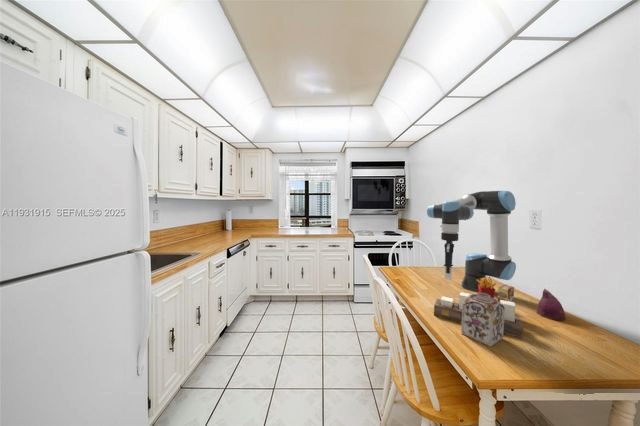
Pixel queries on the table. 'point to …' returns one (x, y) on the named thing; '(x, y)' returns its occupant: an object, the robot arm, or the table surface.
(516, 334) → the wooden candle holder
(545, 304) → the vegetable
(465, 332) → the decorative jar
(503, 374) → the table surface
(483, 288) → the french fries
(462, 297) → the white block
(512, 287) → the candy box
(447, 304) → the white rectangular block
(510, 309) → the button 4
